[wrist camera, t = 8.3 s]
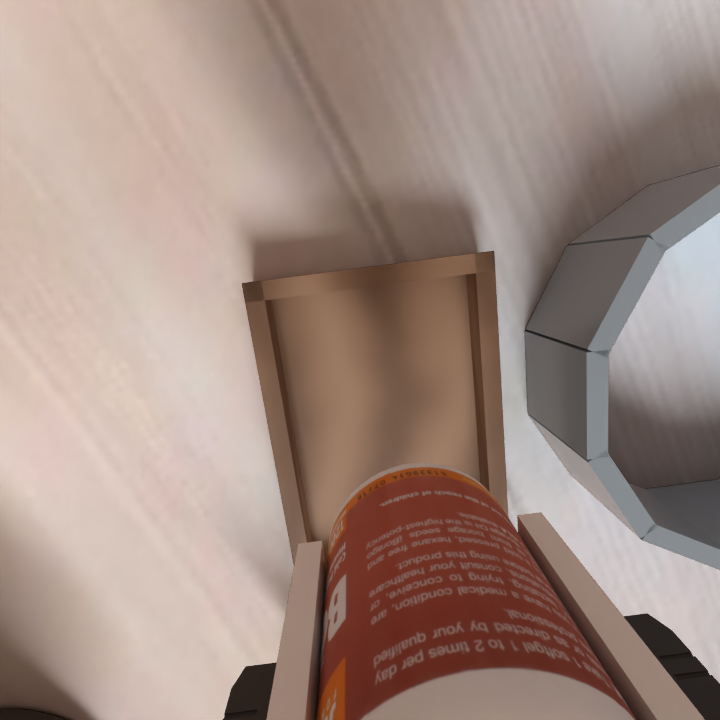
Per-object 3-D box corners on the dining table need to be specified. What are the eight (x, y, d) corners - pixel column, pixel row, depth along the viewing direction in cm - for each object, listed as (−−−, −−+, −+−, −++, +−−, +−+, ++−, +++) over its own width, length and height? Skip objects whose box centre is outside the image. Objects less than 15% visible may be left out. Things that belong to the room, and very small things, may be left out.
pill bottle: (307, 481, 14) (162, 1225, 3) (485, 436, 14) (995, 1058, 3) (354, 628, 15) (369, 1507, 4) (517, 589, 15) (945, 1403, 4)
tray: (304, 567, 28) (299, 597, 25) (252, 281, 24) (241, 283, 21) (495, 542, 28) (511, 569, 25) (478, 252, 24) (494, 250, 21)
